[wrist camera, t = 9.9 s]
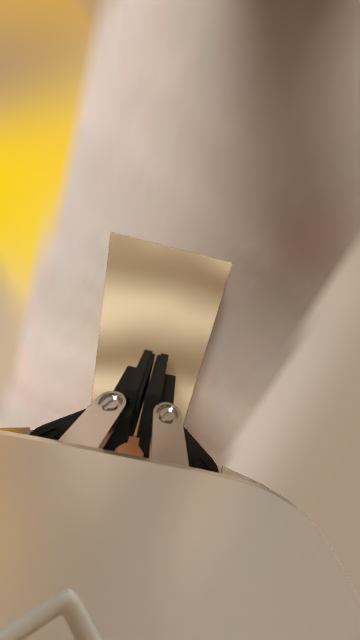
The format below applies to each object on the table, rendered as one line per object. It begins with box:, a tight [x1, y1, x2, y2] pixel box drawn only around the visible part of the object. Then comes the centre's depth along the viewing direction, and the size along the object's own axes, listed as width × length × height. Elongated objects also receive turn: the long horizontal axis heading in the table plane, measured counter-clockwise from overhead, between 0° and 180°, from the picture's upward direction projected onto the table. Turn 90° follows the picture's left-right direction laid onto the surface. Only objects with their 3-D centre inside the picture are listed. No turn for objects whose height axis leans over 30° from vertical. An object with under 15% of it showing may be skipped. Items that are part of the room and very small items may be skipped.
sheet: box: [91, 232, 232, 436], centre depth 15 cm, size 16×8×4 cm, turn 167°
